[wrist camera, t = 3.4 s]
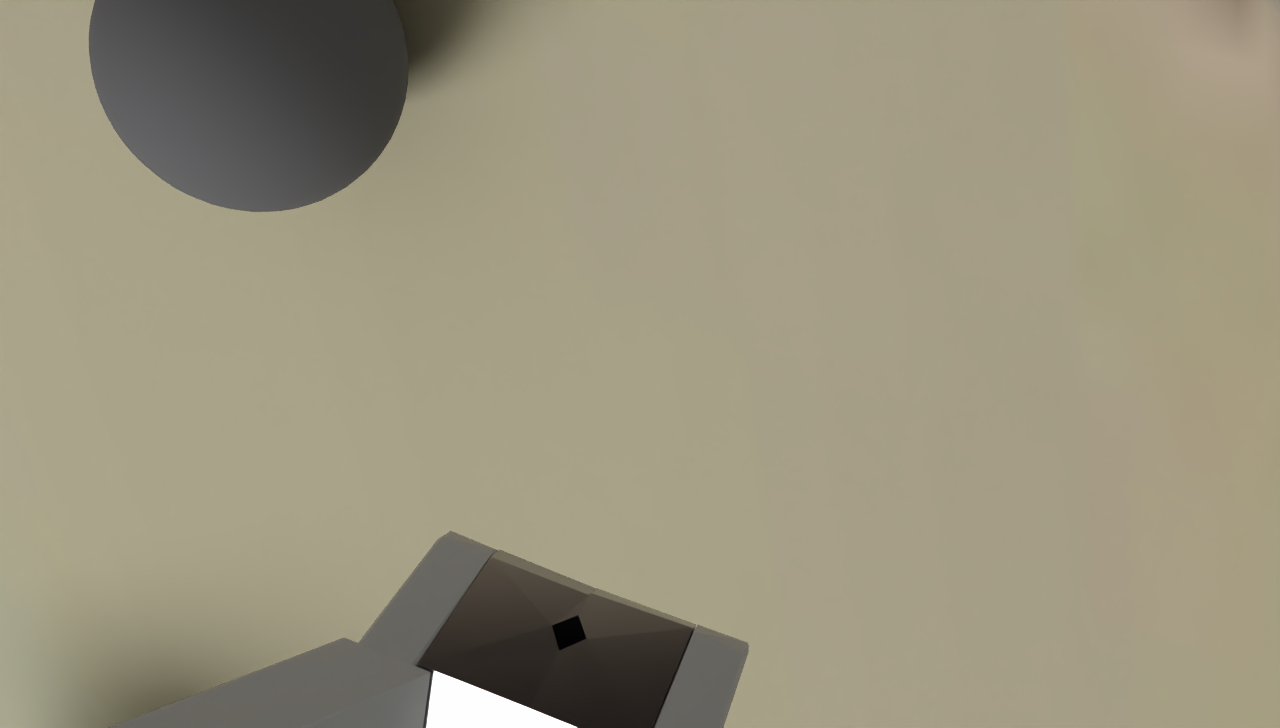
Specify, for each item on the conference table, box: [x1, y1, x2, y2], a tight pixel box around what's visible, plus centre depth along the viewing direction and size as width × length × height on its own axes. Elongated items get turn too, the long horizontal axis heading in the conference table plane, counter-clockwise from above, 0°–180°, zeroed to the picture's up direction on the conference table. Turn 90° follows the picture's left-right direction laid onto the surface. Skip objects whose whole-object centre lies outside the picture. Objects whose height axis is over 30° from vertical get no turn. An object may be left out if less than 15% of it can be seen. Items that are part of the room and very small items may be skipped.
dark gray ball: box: [89, 0, 408, 212], centre depth 21 cm, size 6×6×6 cm
